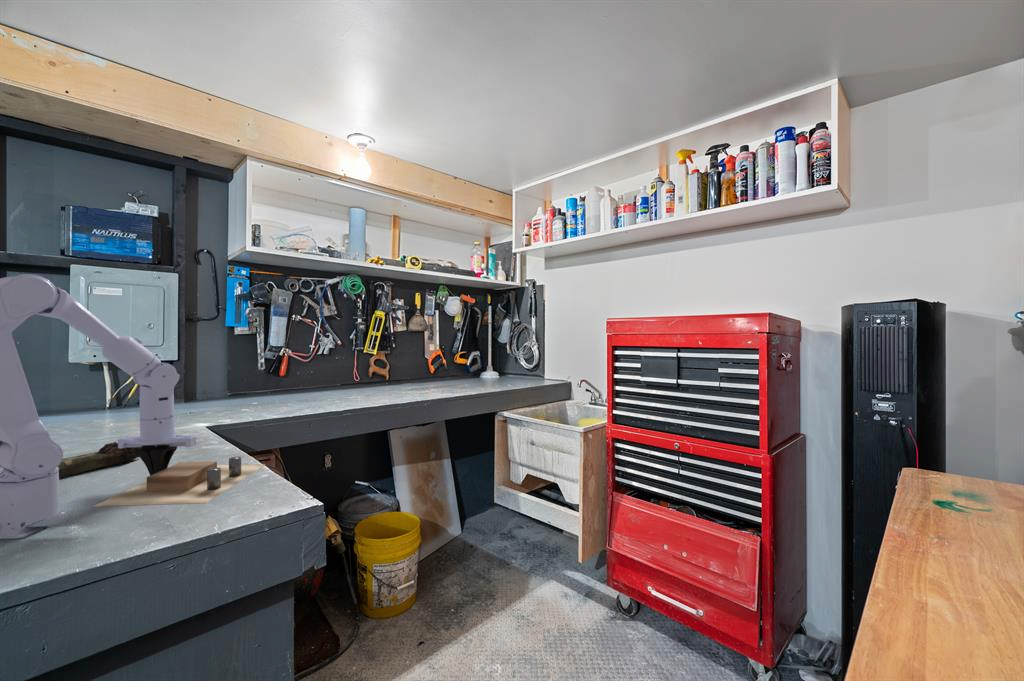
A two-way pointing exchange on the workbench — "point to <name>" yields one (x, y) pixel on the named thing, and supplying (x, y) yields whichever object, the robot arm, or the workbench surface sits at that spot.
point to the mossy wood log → (98, 459)
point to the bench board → (202, 493)
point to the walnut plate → (179, 476)
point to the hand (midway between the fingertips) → (158, 479)
